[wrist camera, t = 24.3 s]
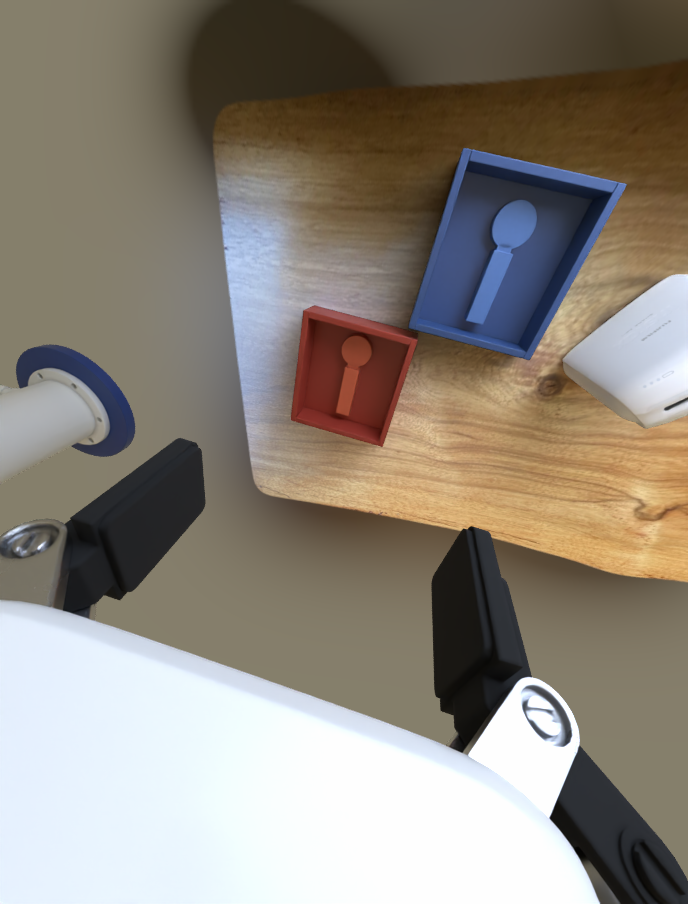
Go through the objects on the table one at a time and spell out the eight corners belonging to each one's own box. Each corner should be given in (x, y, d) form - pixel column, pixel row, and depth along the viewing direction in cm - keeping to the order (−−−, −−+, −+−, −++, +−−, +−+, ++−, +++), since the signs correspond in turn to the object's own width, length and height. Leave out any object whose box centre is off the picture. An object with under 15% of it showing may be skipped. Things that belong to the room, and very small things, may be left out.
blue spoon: (488, 324, 29) (491, 327, 28) (455, 316, 30) (457, 318, 28) (541, 206, 24) (547, 204, 23) (501, 197, 24) (505, 194, 23)
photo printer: (674, 263, 25) (853, 268, 14) (703, 301, 26) (891, 331, 15) (551, 359, 30) (617, 412, 20) (578, 388, 31) (654, 452, 21)
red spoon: (357, 413, 37) (355, 418, 36) (331, 406, 37) (328, 410, 36) (376, 337, 32) (374, 340, 31) (346, 330, 32) (344, 332, 31)
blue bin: (409, 321, 31) (407, 328, 28) (458, 160, 24) (463, 147, 21) (519, 350, 30) (529, 360, 27) (602, 192, 24) (627, 183, 21)
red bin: (300, 408, 39) (290, 420, 36) (313, 305, 32) (303, 310, 29) (385, 432, 38) (382, 447, 35) (418, 332, 31) (417, 340, 29)
